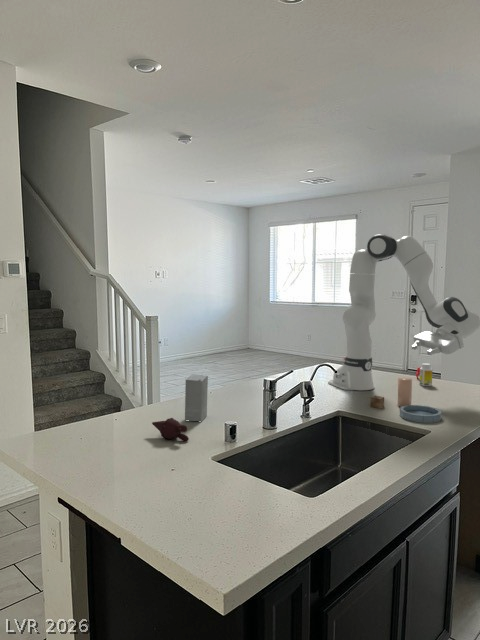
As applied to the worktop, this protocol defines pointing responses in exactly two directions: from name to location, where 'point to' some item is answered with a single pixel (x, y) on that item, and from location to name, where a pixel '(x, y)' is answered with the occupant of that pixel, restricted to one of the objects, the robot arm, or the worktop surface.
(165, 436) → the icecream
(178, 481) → the worktop surface
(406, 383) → the peach tapered cylinder
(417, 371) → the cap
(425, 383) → the supplement bottle
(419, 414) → the dish
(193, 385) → the skincare box
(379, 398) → the walnut block
